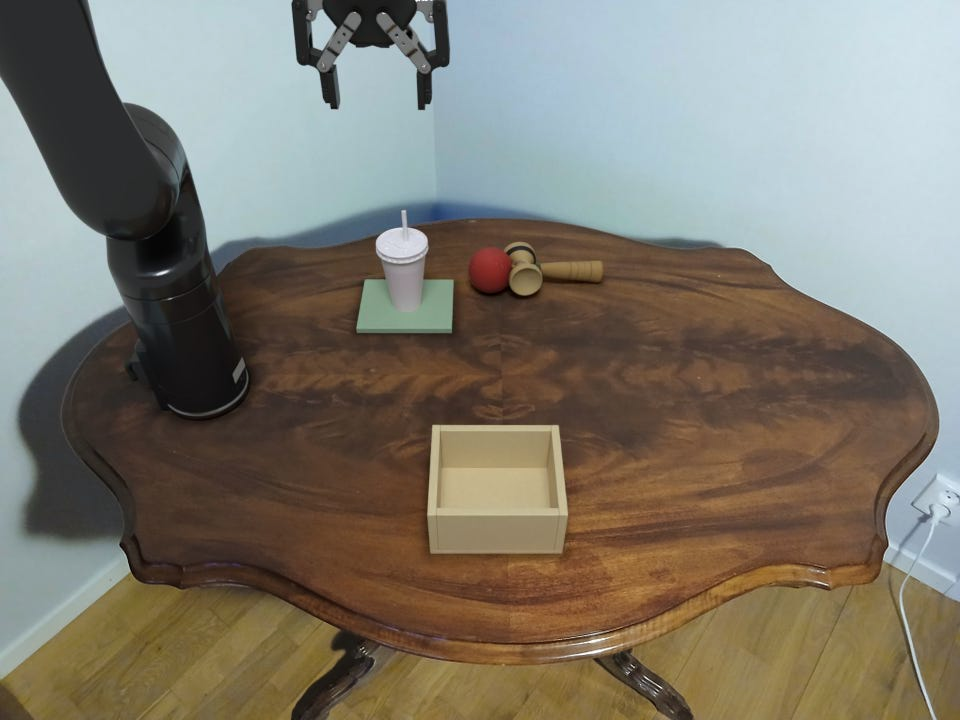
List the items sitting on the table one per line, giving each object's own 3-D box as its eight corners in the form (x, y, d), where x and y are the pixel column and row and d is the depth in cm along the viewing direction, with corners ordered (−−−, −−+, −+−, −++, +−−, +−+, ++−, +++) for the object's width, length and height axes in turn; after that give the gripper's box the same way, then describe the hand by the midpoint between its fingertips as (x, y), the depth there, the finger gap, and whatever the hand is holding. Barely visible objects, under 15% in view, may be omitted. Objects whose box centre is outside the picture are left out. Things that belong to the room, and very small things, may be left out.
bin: (430, 553, 69) (427, 515, 65) (434, 464, 77) (432, 424, 72) (562, 553, 70) (568, 515, 65) (553, 464, 77) (558, 424, 73)
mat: (356, 333, 92) (356, 328, 91) (365, 283, 99) (364, 279, 98) (451, 333, 92) (451, 328, 91) (453, 284, 99) (453, 279, 98)
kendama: (586, 267, 104) (462, 262, 100) (600, 235, 99) (469, 229, 95) (597, 309, 100) (468, 305, 96) (612, 277, 94) (475, 273, 91)
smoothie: (424, 322, 92) (418, 229, 82) (375, 315, 93) (364, 222, 83) (436, 291, 97) (432, 199, 87) (390, 284, 98) (380, 193, 88)
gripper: (449, -90, 64) (451, 91, 75) (286, -92, 63) (312, 89, 75) (447, -66, 58) (449, 125, 70) (269, -69, 58) (300, 123, 69)
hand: (378, 106), depth 72 cm, fingers open, 8 cm apart
